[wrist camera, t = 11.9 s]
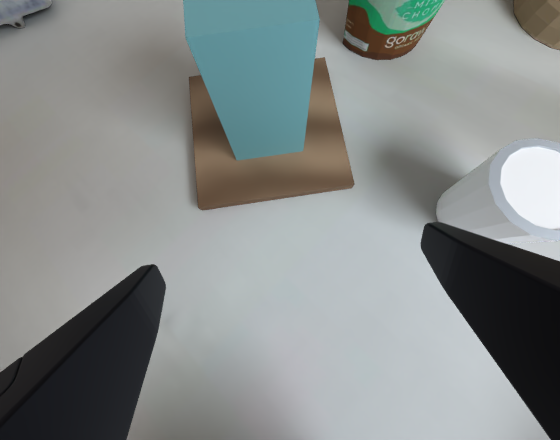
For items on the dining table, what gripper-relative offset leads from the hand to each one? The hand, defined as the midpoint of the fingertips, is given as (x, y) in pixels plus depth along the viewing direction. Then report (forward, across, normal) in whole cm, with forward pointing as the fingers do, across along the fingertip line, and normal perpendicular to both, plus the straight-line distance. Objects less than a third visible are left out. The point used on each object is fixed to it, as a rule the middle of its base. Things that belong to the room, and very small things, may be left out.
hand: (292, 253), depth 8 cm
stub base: (+19, 0, 0) cm, 19 cm away
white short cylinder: (+12, -17, +8) cm, 22 cm away
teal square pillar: (+18, 0, -1) cm, 19 cm away
